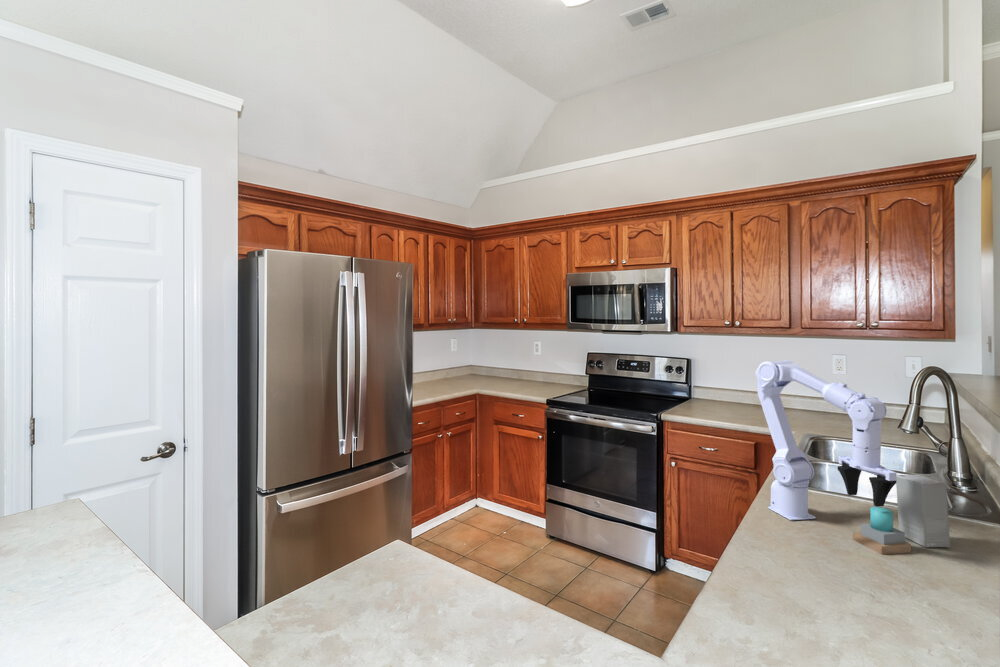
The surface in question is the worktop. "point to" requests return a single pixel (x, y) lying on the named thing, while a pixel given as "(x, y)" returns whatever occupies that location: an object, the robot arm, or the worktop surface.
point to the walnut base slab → (881, 545)
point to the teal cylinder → (881, 519)
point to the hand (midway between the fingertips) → (865, 500)
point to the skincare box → (923, 510)
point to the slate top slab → (883, 535)
